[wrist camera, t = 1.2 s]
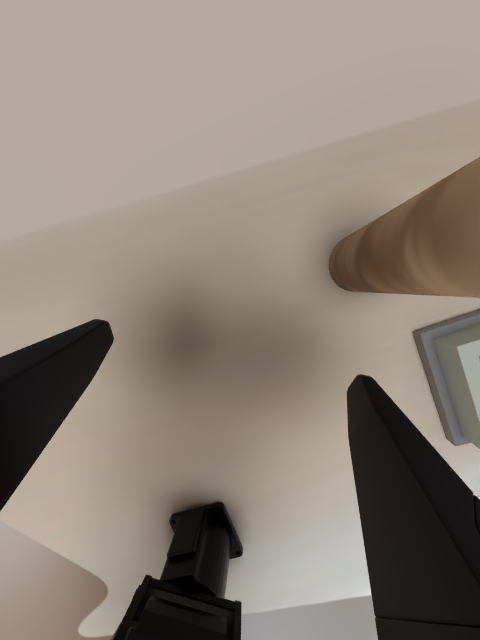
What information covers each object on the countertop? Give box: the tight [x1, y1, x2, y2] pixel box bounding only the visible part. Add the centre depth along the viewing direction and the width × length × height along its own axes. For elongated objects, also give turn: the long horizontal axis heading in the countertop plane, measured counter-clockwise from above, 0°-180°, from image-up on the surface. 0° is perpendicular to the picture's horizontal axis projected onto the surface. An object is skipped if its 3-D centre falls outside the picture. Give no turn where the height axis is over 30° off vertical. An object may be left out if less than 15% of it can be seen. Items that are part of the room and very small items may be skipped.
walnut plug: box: [329, 157, 480, 298], centre depth 14 cm, size 5×5×13 cm
